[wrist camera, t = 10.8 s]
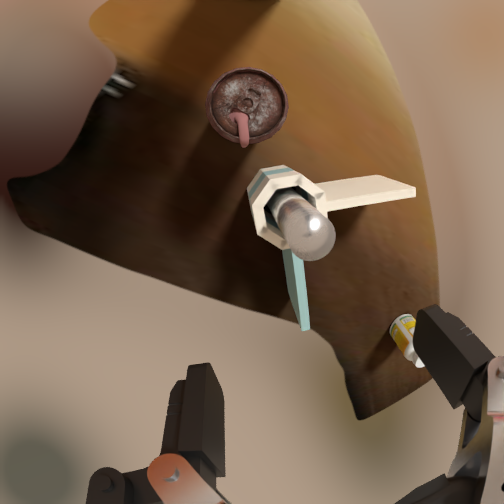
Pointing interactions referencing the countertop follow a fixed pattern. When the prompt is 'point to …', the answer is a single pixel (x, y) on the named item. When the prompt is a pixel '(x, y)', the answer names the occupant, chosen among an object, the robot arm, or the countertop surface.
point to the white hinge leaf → (321, 196)
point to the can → (246, 105)
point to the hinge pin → (301, 225)
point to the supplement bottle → (405, 337)
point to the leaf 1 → (291, 264)
